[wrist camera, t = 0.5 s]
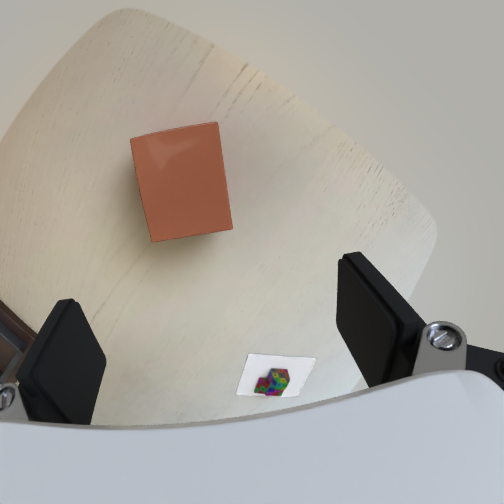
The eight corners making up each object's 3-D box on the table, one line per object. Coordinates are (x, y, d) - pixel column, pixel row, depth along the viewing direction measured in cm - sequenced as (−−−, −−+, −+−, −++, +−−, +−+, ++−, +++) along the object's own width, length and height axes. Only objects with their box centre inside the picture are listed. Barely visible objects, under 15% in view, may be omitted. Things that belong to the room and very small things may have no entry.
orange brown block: (145, 134, 21) (129, 139, 17) (216, 121, 22) (218, 122, 17) (162, 219, 24) (151, 242, 20) (228, 207, 25) (233, 229, 20)
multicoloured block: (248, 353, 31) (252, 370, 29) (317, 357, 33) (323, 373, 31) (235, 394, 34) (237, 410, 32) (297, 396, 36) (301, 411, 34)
